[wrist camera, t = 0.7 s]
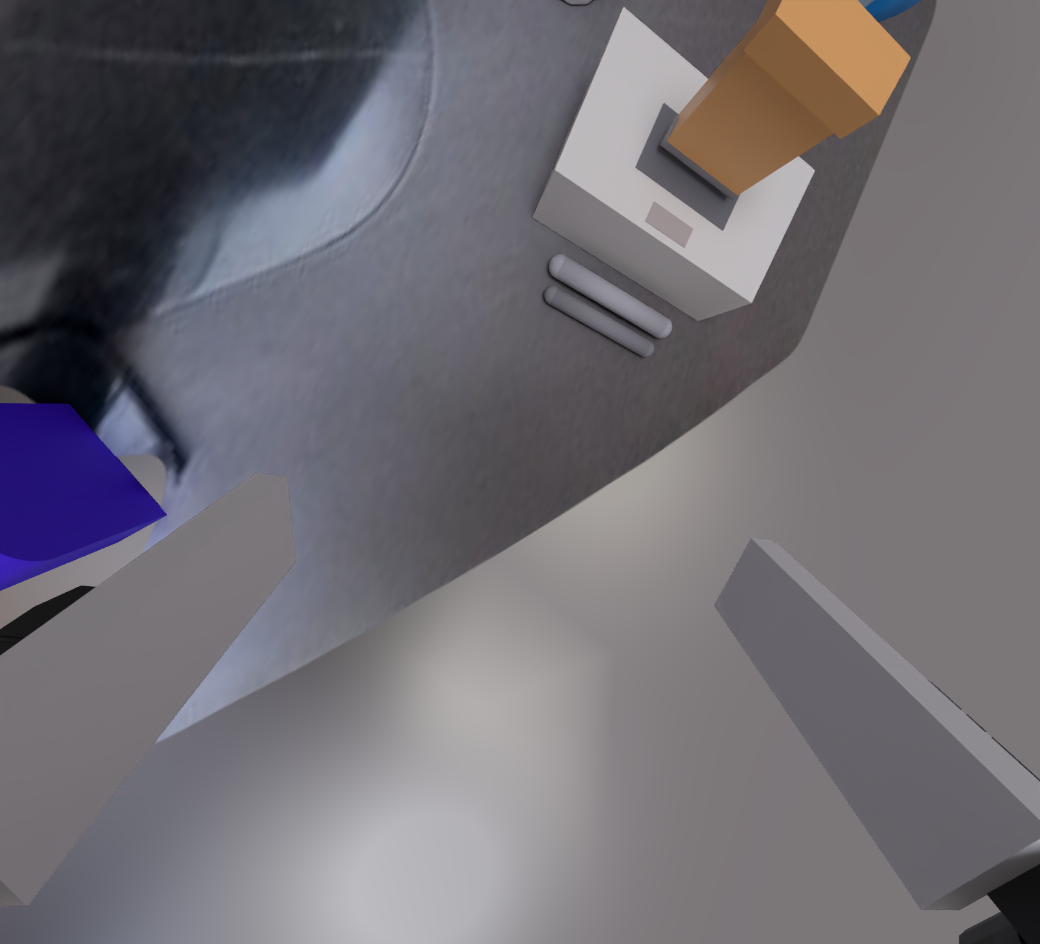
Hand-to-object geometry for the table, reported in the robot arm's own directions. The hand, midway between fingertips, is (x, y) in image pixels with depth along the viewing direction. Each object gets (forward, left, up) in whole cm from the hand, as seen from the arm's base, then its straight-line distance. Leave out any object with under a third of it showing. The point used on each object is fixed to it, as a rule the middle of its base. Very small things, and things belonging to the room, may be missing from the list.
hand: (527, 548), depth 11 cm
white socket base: (-23, +18, -26) cm, 39 cm away
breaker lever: (-23, +18, -18) cm, 34 cm away
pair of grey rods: (-13, +14, -26) cm, 33 cm away
